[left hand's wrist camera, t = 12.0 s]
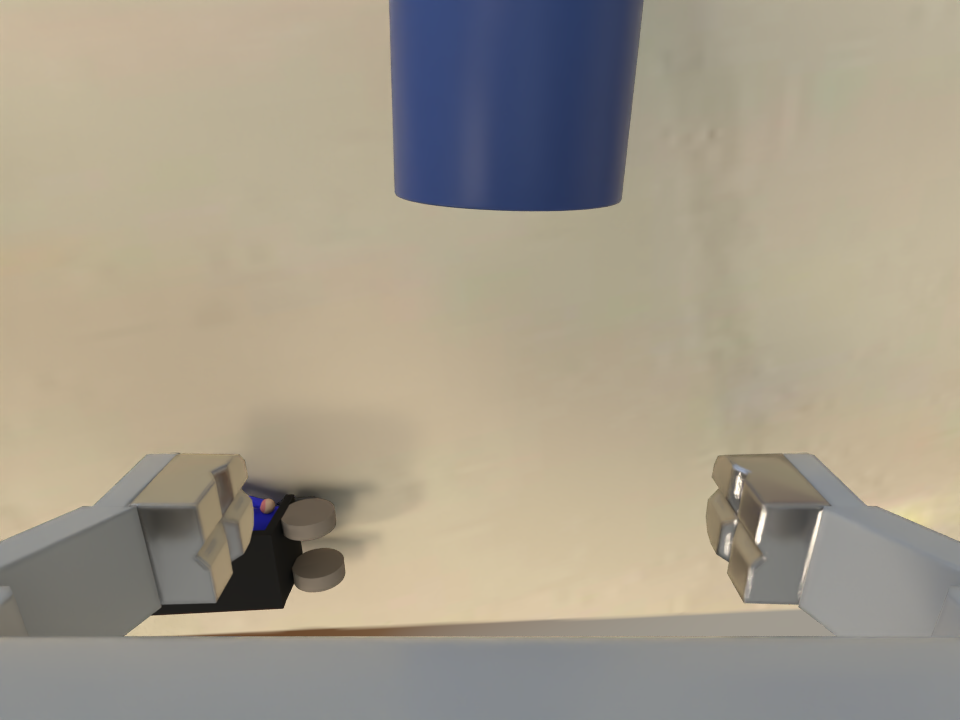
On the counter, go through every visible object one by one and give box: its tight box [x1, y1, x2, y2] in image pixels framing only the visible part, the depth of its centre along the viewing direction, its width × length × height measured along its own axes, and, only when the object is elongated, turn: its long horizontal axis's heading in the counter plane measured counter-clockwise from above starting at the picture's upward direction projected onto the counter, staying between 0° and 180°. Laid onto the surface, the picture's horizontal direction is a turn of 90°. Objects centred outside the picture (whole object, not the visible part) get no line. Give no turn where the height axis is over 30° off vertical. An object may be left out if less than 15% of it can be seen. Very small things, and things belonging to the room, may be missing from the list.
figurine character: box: [151, 494, 345, 616], centre depth 42 cm, size 7×8×15 cm
